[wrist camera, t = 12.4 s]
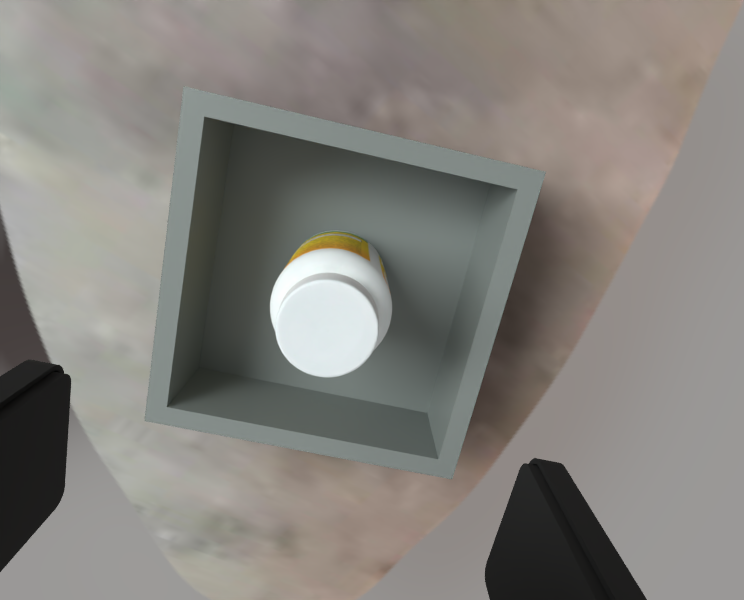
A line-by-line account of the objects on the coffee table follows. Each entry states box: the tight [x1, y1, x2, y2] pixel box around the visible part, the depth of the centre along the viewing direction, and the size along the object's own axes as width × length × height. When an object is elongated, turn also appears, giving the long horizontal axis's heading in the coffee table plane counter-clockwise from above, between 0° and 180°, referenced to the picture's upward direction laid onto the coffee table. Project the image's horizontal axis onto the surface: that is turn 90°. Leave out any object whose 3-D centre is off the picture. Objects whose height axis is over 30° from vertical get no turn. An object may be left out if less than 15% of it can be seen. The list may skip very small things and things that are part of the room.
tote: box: [145, 86, 546, 479], centre depth 27 cm, size 16×16×6 cm
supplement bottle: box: [270, 230, 392, 377], centre depth 24 cm, size 5×5×10 cm
